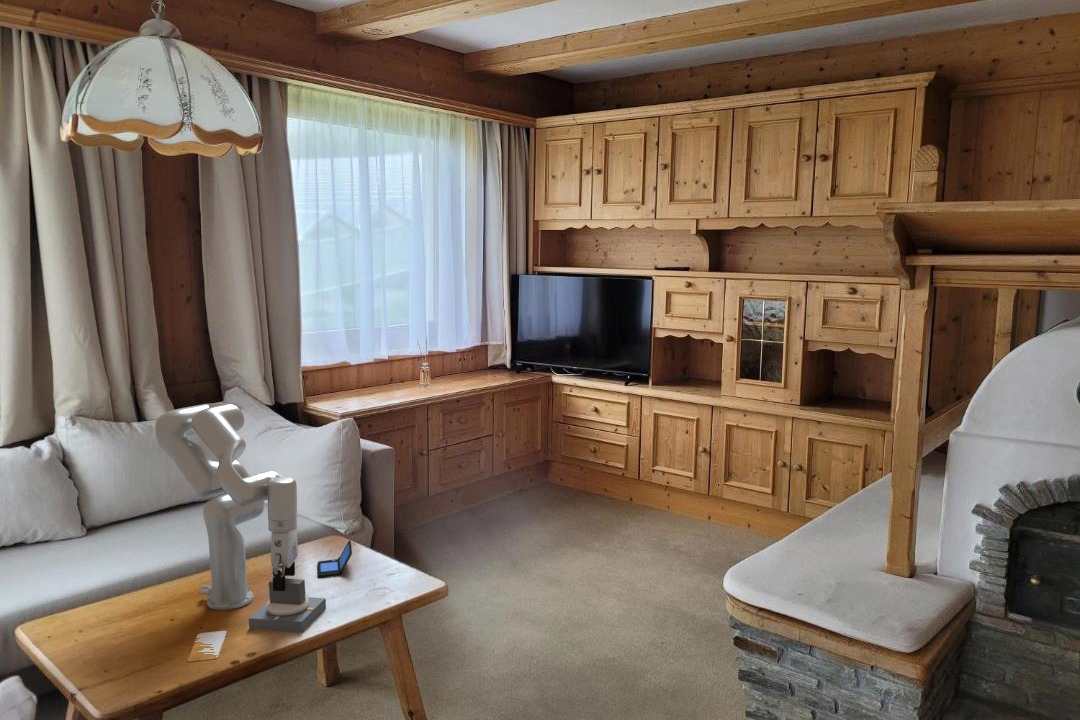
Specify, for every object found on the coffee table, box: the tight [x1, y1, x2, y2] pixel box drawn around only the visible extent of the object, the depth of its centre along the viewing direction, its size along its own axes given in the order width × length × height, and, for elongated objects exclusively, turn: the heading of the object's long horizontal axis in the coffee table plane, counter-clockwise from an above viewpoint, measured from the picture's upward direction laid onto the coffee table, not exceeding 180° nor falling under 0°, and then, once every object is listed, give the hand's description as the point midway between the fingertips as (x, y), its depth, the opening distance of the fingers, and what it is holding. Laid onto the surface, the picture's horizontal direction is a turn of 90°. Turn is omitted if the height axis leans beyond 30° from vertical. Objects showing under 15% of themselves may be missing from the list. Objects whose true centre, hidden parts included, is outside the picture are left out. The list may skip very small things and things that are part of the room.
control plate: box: [248, 596, 327, 633], centre depth 221 cm, size 15×15×3 cm
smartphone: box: [194, 630, 228, 658], centre depth 206 cm, size 7×1×15 cm
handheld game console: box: [316, 539, 353, 579], centre depth 256 cm, size 12×11×7 cm
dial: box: [266, 577, 309, 616], centre depth 220 cm, size 11×11×8 cm
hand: (284, 582), depth 221 cm, fingers open, 9 cm apart
